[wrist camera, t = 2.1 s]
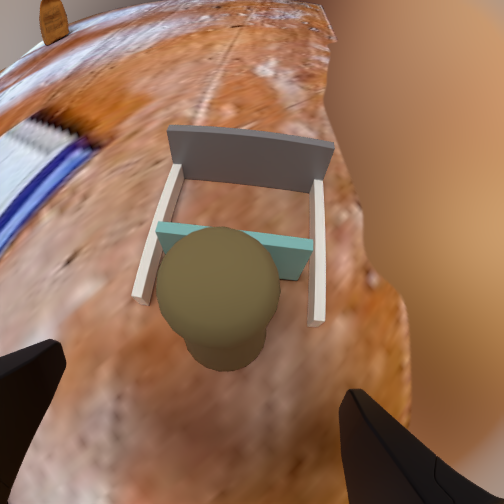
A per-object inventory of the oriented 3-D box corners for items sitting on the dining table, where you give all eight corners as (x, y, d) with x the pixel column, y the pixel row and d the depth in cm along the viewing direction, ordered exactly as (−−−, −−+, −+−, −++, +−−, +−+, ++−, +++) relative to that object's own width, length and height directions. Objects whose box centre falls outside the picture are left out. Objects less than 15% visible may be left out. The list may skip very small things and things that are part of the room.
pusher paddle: (297, 280, 22) (313, 250, 17) (169, 264, 22) (155, 231, 17) (297, 271, 22) (313, 239, 18) (172, 255, 22) (158, 221, 18)
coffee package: (69, 30, 59) (59, -17, 40) (71, 35, 55) (60, -18, 35) (45, 42, 56) (33, -5, 37) (44, 48, 52) (30, -4, 32)
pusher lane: (317, 327, 21) (345, 303, 15) (139, 304, 21) (110, 273, 15) (317, 188, 27) (333, 142, 21) (178, 172, 27) (169, 124, 21)
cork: (278, 310, 21) (317, 236, 11) (246, 385, 18) (259, 382, 9) (205, 279, 22) (185, 185, 12) (169, 349, 19) (108, 305, 9)
